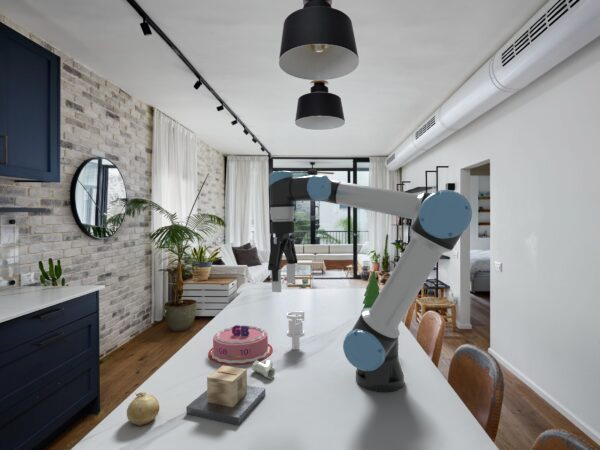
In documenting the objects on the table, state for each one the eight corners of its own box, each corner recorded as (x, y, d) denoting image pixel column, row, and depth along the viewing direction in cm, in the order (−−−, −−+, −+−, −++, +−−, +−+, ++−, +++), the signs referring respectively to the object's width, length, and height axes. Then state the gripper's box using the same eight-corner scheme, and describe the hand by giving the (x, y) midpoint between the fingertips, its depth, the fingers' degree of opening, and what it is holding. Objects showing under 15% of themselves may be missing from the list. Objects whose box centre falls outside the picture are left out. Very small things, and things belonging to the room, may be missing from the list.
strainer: (302, 352, 138) (302, 314, 137) (285, 351, 139) (284, 313, 139) (306, 345, 145) (305, 309, 144) (289, 344, 146) (288, 308, 146)
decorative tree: (387, 340, 150) (387, 269, 148) (371, 345, 144) (371, 272, 143) (370, 334, 158) (370, 266, 156) (354, 338, 152) (354, 269, 151)
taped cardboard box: (207, 402, 98) (207, 376, 98) (223, 388, 106) (222, 364, 106) (232, 407, 96) (232, 380, 95) (247, 392, 103) (246, 368, 103)
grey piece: (265, 394, 106) (265, 369, 106) (238, 425, 91) (238, 395, 91) (218, 386, 111) (218, 362, 111) (186, 414, 96) (185, 386, 96)
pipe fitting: (267, 368, 126) (251, 372, 121) (267, 356, 126) (252, 361, 121) (282, 375, 120) (266, 380, 115) (282, 363, 120) (267, 368, 115)
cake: (196, 363, 129) (195, 334, 129) (223, 339, 154) (223, 314, 154) (262, 368, 125) (261, 338, 124) (279, 342, 149) (279, 317, 149)
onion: (164, 411, 98) (163, 386, 97) (153, 429, 90) (152, 401, 89) (134, 412, 97) (133, 387, 97) (121, 430, 89) (120, 402, 89)
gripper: (284, 220, 126) (286, 279, 126) (255, 222, 102) (257, 295, 102) (304, 219, 123) (306, 280, 124) (279, 221, 100) (281, 296, 100)
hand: (284, 287), depth 113 cm, fingers open, 13 cm apart
